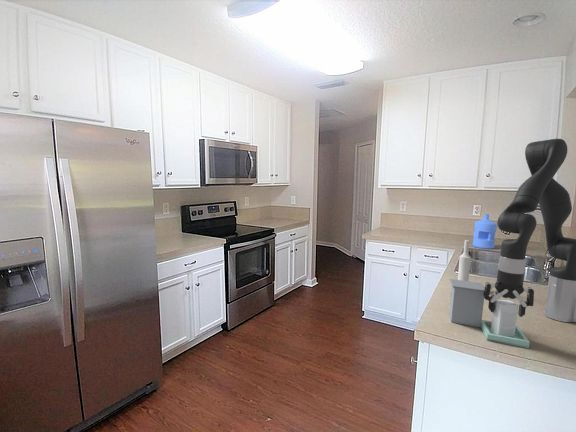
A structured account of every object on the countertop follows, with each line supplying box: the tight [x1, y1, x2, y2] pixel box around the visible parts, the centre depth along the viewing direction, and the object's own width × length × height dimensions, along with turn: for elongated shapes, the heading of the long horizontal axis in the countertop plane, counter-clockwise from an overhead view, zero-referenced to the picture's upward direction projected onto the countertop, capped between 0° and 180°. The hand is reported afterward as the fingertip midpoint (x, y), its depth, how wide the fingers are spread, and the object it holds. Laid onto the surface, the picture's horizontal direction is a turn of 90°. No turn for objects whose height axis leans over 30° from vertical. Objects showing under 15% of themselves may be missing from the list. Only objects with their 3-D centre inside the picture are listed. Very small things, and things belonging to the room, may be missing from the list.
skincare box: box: [491, 299, 519, 337], centre depth 109 cm, size 6×4×12 cm
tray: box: [480, 319, 531, 349], centre depth 109 cm, size 12×12×2 cm
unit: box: [448, 278, 485, 328], centre depth 120 cm, size 11×9×15 cm
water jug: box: [472, 213, 498, 250], centre depth 255 cm, size 16×16×28 cm
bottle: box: [457, 239, 472, 281], centre depth 156 cm, size 5×5×25 cm
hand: (505, 313), depth 108 cm, fingers open, 8 cm apart
